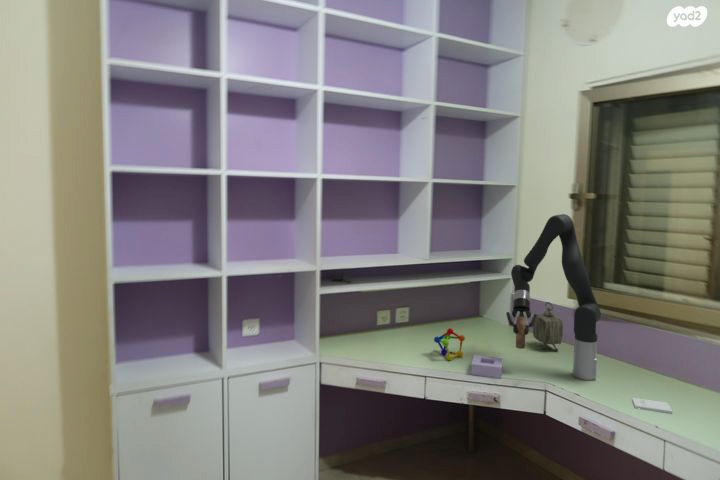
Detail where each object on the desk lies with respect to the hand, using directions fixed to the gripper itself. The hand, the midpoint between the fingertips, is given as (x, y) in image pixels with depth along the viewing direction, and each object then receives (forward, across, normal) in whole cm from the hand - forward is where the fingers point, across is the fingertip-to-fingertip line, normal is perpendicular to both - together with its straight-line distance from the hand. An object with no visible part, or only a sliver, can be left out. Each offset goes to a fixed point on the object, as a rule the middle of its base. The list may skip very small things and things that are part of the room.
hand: (520, 333), depth 219 cm
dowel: (+4, 0, +6) cm, 7 cm away
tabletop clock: (-17, +14, +44) cm, 49 cm away
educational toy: (+5, -34, +22) cm, 41 cm away
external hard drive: (+27, +49, +2) cm, 56 cm away
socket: (+15, -14, +12) cm, 24 cm away
